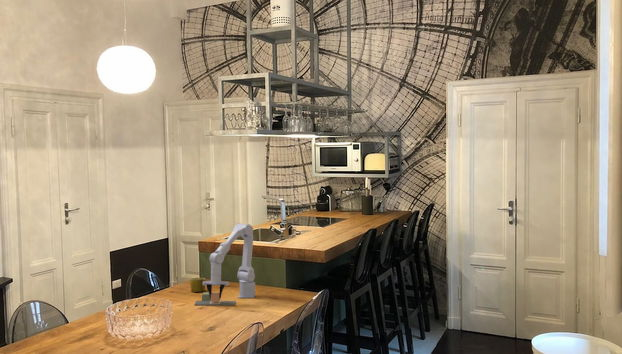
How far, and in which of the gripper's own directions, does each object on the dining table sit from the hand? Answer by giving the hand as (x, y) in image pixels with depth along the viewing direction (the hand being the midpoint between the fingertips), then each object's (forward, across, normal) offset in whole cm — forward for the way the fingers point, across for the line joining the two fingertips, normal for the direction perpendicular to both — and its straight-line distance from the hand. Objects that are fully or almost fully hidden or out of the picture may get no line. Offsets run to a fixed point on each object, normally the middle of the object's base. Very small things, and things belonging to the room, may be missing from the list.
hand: (215, 298), depth 288 cm
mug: (+3, -14, +31) cm, 34 cm away
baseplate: (+3, 0, 0) cm, 3 cm away
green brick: (+3, -6, +8) cm, 11 cm away
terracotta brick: (+1, 0, 0) cm, 1 cm away
